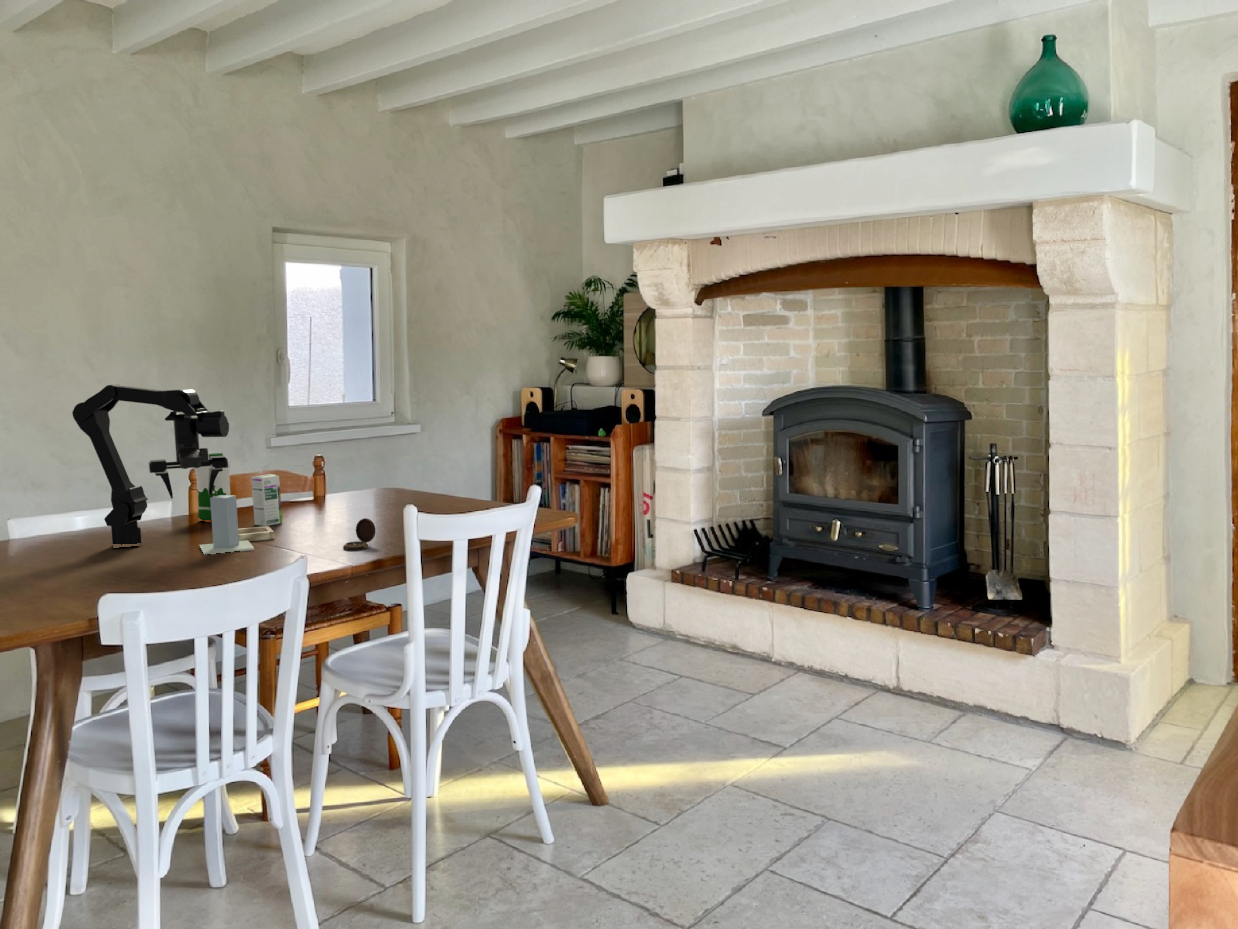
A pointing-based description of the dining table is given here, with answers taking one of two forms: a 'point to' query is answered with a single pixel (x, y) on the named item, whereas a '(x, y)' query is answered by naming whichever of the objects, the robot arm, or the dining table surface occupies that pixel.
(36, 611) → the dining table surface
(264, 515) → the syrup box
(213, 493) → the milk carton
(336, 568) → the dining table surface
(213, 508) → the link block
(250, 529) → the holder
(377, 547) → the dining table surface
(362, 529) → the compass
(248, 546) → the plate
